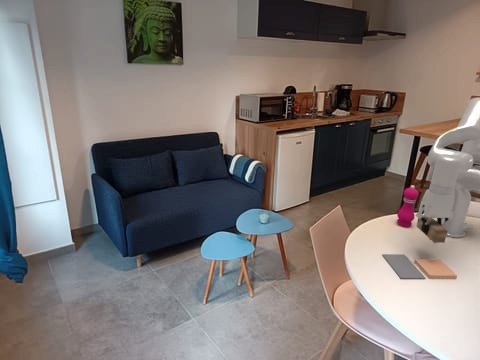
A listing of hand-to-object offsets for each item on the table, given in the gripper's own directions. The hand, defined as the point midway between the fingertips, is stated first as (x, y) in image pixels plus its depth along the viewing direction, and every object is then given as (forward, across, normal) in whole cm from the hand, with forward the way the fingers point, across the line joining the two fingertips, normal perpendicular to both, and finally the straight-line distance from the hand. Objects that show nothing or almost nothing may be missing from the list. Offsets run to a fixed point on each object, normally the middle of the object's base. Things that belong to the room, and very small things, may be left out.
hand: (430, 232), depth 126 cm
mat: (+11, +12, +6) cm, 17 cm away
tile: (+11, +1, +4) cm, 12 cm away
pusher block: (+1, 0, 0) cm, 1 cm away
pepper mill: (+12, -6, -28) cm, 31 cm away
